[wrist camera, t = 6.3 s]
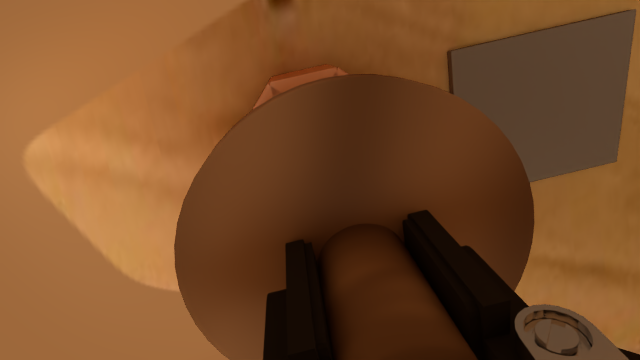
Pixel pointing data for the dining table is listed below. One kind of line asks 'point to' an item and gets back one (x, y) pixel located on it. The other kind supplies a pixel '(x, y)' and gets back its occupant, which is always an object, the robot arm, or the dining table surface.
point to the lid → (349, 214)
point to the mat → (552, 91)
